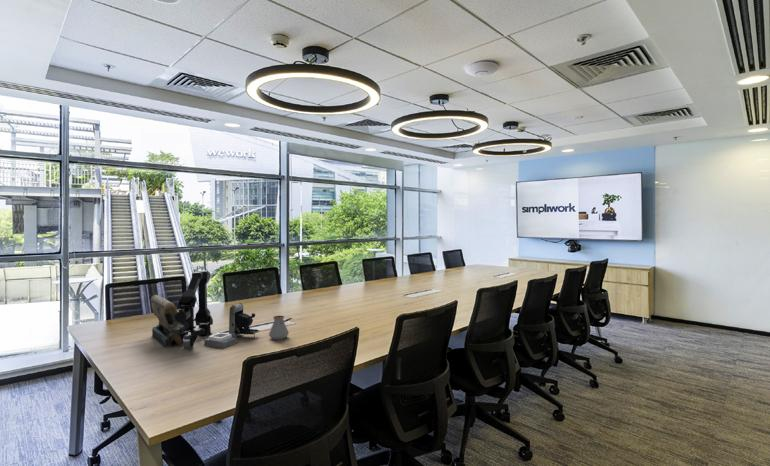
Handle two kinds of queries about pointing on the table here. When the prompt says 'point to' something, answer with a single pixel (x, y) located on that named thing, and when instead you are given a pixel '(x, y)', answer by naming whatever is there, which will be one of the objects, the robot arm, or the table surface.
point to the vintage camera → (240, 321)
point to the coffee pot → (279, 328)
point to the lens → (186, 343)
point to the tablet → (164, 321)
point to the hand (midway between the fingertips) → (188, 346)
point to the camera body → (220, 340)
